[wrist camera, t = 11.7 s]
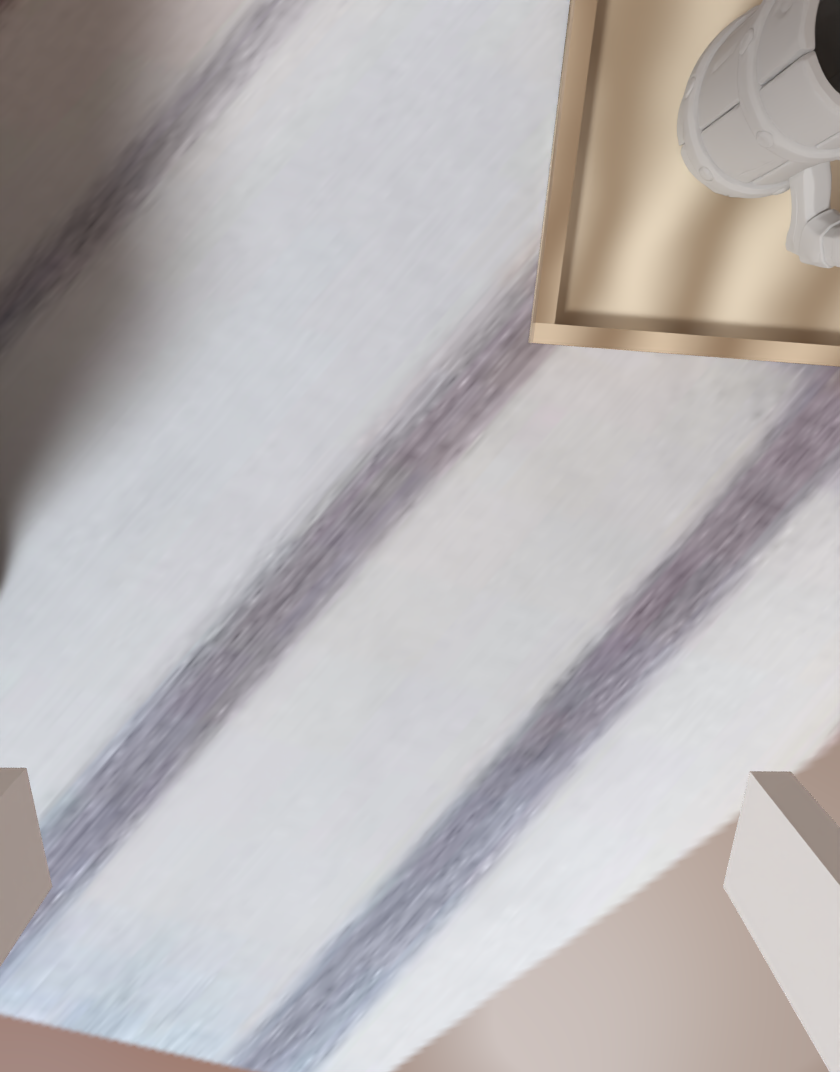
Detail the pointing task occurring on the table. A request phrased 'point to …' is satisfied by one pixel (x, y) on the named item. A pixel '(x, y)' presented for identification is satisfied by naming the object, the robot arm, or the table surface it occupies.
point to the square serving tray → (663, 209)
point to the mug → (771, 116)
